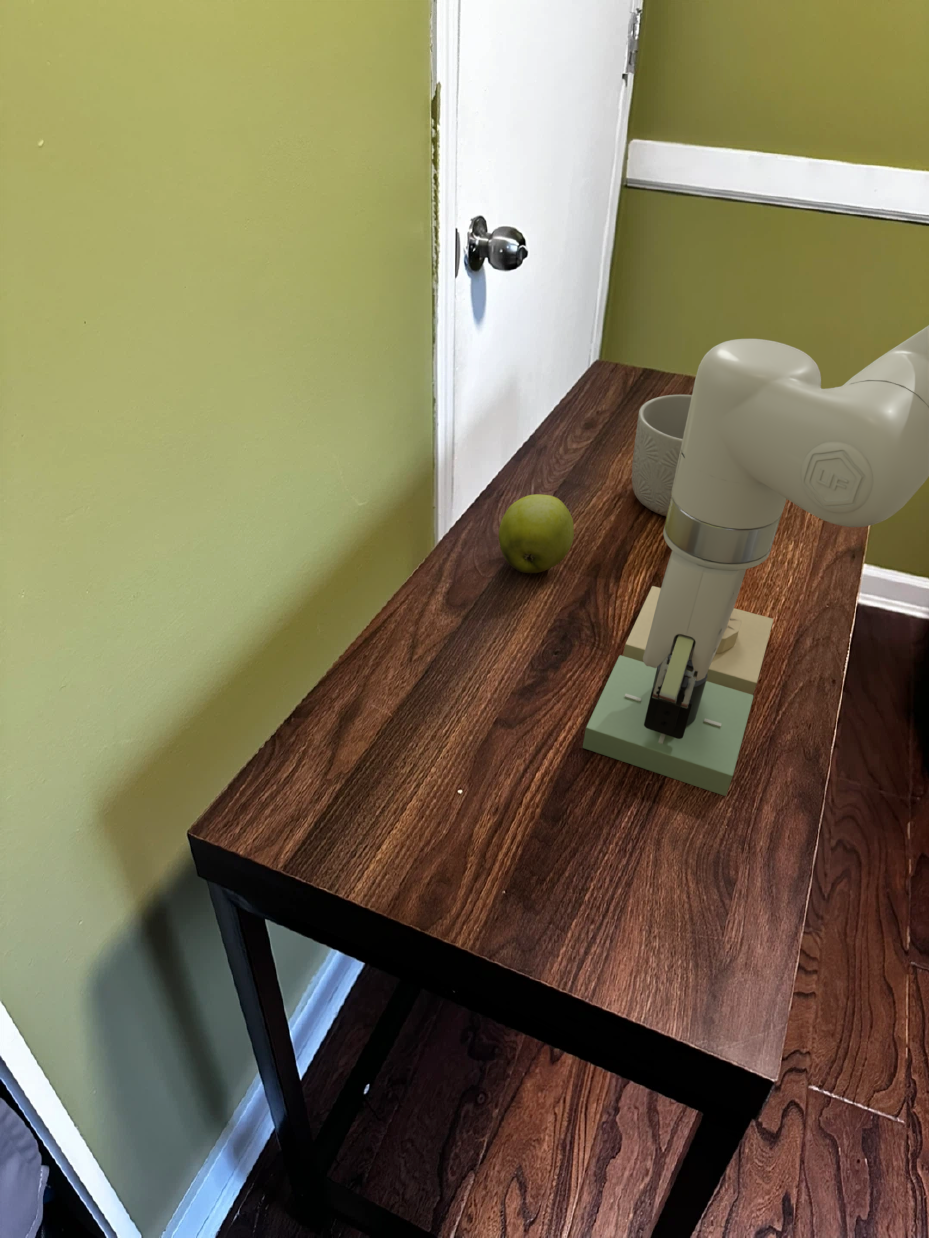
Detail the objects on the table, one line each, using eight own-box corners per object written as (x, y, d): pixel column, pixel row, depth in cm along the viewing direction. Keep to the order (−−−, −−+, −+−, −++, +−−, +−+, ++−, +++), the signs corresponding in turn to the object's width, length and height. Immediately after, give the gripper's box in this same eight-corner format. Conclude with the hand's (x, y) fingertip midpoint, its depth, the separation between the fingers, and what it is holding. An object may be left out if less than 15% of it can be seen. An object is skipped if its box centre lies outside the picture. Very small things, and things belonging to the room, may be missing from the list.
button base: (768, 636, 84) (778, 603, 81) (751, 700, 77) (762, 668, 74) (648, 602, 88) (655, 571, 85) (621, 661, 80) (628, 629, 78)
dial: (655, 688, 74) (665, 645, 71) (701, 703, 73) (713, 660, 70) (642, 717, 71) (652, 674, 68) (689, 734, 70) (701, 690, 67)
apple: (575, 547, 95) (583, 484, 90) (562, 595, 88) (570, 530, 83) (506, 536, 96) (510, 473, 91) (488, 582, 89) (492, 517, 84)
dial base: (747, 715, 75) (754, 693, 74) (725, 796, 68) (733, 774, 67) (615, 674, 79) (619, 653, 77) (582, 748, 72) (586, 726, 70)
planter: (746, 525, 99) (770, 440, 93) (644, 533, 98) (661, 447, 91) (704, 472, 109) (723, 391, 102) (611, 478, 107) (624, 396, 100)
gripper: (694, 457, 67) (655, 632, 79) (635, 573, 55) (599, 760, 67) (792, 480, 65) (737, 656, 77) (753, 606, 53) (695, 793, 64)
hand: (673, 703), depth 71 cm, fingers open, 6 cm apart
